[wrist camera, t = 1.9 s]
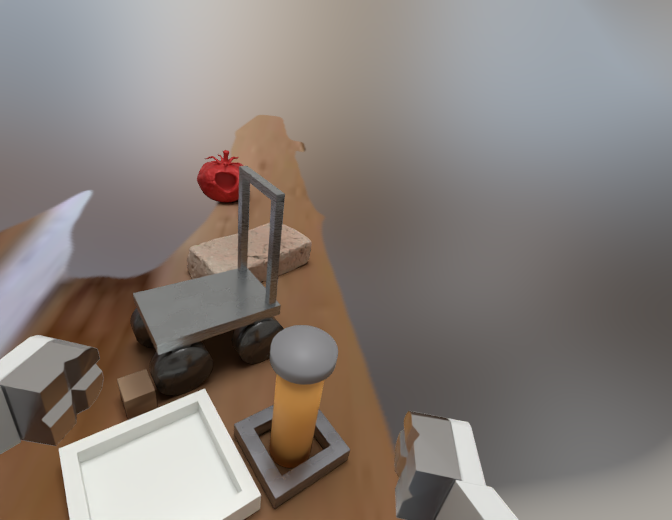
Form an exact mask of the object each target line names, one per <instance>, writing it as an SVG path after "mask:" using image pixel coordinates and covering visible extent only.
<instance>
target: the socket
mask: <svg viewBox="0 0 672 520" xmlns="http://www.w3.org/2000/svg"><path fill="white" fill-rule="evenodd" d="M273 407H274V405H272V406H270V407H268V408H266V409H264V410H262V411H260V412H258V413H256V414H254V415H252V416H250V417H248V418H246V419H244V420H242V421H240V422H238V423H236V424H234V435H235V437H236V439H237V441H238V443H239V445H240V446H241V448H242V450H243V452H244V454H245V456H246V458H247V459H248V461H249V463H250V465H251V467H252V469H253V471H254V472H255V474H256V476H257V478H258V480H259V482H260V484H261V485H262V487H263V489H264V491H265V493H266V495H267V496H268V498H269V500H270V502H271V504H272V506H273V508H274V509H275V508H277V507H278V506H280V505H281V504H283V503H284V502H286V501H287V500H289V499H290V498H292V497H293V496H295V495H296V494H298V493H299V492H301V491H302V490H303V489H305V488H306V487H308V486H309V485H311V484H312V483H314V482H315V481H317V480H318V479H320V478H321V477H323V476H324V475H326V474H327V473H329V472H330V471H332V470H333V469H335V468H336V467H338V466H339V465H341V464H342V463H344V462H345V461H347V460H348V456H349V452H350V449H349V448H348V446H347V445H346V444H345V442H344V441H343V440H342V438H341V437H340V436H339V434H338V433H337V432H336V431H335V429H334V428H333V427H332V425H331V424H330V423H329V421H328V420H327V419H326V418H325V416H324V415H323V414H322V412H321V411H320V410H318V415H317V420H316V426H315V431H314V436H315V438H316V439H317V440H318V442H319V443H320V445H321V446H322V448H323V449H324V450H323V451H321V452H319V453H318V454H316V455H315V456H313V457H311V458H310V459H308V460H307V461H305V462H303V463H302V464H300V465H299V466H297V467H295V468H294V469H292V470H291V471H289V472H287V473H286V474H284V475H283V476H281V474H280V473H279V471H278V469H277V468H276V466H275V464H274V462H273V461H272V459H271V457H270V456H269V454H268V452H267V451H266V449H265V447H264V445H263V444H262V442H261V440H260V439H259V437H258V436H259V435H261V434H263V433H265V432H267V431H269V430H271V428H272V418H273Z"/></svg>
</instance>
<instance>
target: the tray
mask: <svg viewBox="0 0 672 520" xmlns="http://www.w3.org/2000/svg"><path fill="white" fill-rule="evenodd" d="M59 453H60V460H61V466H62V473H63V479H64V485H65V492H66V498H67V505H68V511H69V518H70V520H244V519H245V518H247V517H248V516H250V515H252V514H253V513H255V512H256V511H258V510H259V509H260V502H261V494H260V492H259V490H258V488H257V486H256V484H255V483H254V481H253V479H252V477H251V475H250V473H249V471H248V469H247V467H246V466H245V464H244V462H243V460H242V458H241V456H240V454H239V452H238V450H237V449H236V447H235V445H234V443H233V441H232V439H231V437H230V435H229V433H228V432H227V430H226V428H225V426H224V424H223V422H222V420H221V418H220V416H219V415H218V413H217V411H216V409H215V407H214V405H213V403H212V401H211V399H210V398H209V396H208V394H207V392H206V390H205V389H202V390H200V391H197V392H195V393H193V394H190V395H188V396H185V397H183V398H181V399H178V400H176V401H173V402H171V403H168V404H166V405H164V406H161V407H159V408H156V409H154V410H152V411H149V412H147V413H144V414H142V415H139V416H137V417H135V418H132V419H130V420H127V421H125V422H122V423H120V424H118V425H115V426H113V427H110V428H108V429H106V430H103V431H101V432H98V433H96V434H93V435H91V436H89V437H86V438H84V439H81V440H79V441H77V442H74V443H72V444H69V445H67V446H64V447H62V448H60V449H59Z"/></svg>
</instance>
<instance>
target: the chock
mask: <svg viewBox="0 0 672 520" xmlns="http://www.w3.org/2000/svg"><path fill="white" fill-rule="evenodd" d="M117 381H118V386H119V390H120V395H121V398H122V402H123V405H124V408H125V411H126V414H127V417H128V420H130V419H132V418H134V417H137V416H139V415H142V414H144V413H146V412H149V411H151V410H154V409H156V408H158V407H157V401H156V394H155V389H154V387H153V384H152V382H151V379H150V377H149V375H148V372H147V370H146V369H144V370H142V371H139V372H136V373H133V374H130V375H127V376H124V377H122V378H119V379H117Z"/></svg>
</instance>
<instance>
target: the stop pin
mask: <svg viewBox="0 0 672 520" xmlns="http://www.w3.org/2000/svg"><path fill="white" fill-rule="evenodd" d="M337 356H338V348H337V345H336V342H335V341H334V339H333V338H332V337H331V336H330V335H329V334H328V333H326V332H325V331H323V330H321V329H319V328H316V327H312V326H306V325H297V326H291V327H288V328H285V329H283V330H282V331H280V332H279V333H278V334H277V335H275V337H274V338H273V340H272V343H271V349H270V363H271V366H272V368H273V370H274V371H275V372H276V373H277V376H276V387H275V397H274V407H273V418H272V428H271V439H270V454H271V457H272V458H273V460H274V461H275V462H276V463H277V464H279V465H280V466H283V467H287V468H294V467H297V466H299V465H300V464H302V463H303V462H305V461H306V460H307V459H308V457H309V455H310V452H311V446H312V441H313V436H314V431H315V426H316V420H317V415H318V410H319V405H320V400H321V394H322V389H323V384H324V380H325V379H326V378H327V377H329V376H330V375H331V374H332V372H333V371H334V368H335V365H336V361H337Z"/></svg>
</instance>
